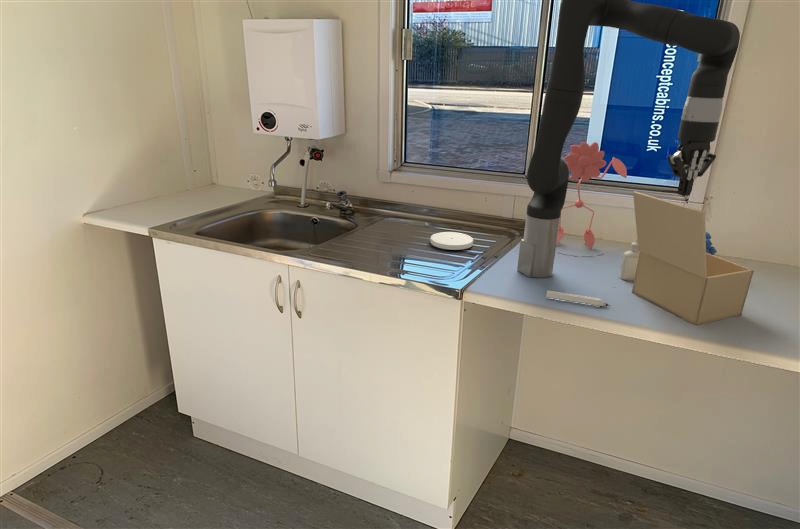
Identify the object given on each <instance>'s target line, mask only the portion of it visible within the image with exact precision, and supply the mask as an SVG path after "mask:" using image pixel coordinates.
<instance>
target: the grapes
mask: <svg viewBox="0 0 800 529" xmlns="http://www.w3.org/2000/svg"><path fill="white" fill-rule="evenodd" d="M710 239H712V236H711V234H710V233H709V232H708V231H706V253H709V254H711V255H714V256H715V255H716V253H717V249H716V248H715V246H713V243H712V241H711V240H710Z"/></svg>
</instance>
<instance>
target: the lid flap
mask: <svg viewBox="0 0 800 529" xmlns="http://www.w3.org/2000/svg"><path fill="white" fill-rule="evenodd" d="M632 195H633V204H634V205H633V207H634V217H635V218H634V219H635V228H636V237H637V238H636V239H637V240H638V250H639V251H641V252H643V253H645V254H648V255H650V256H653V257H655V258H657V259H660V260H662V261H664V262H667V263H669V264H672V265H674V266H676V267H679V268H681V269H684V270H686V271H688V272H691V273H693V274H695V275H698V276H700V277H703V278H706V277H707V266H706V232H707V231H706V211H703V210H699V209H696V208H693V207H690V206H686V205H684V204H679V203H676V202H673V201H670V200H666V199H663V198H661V197H660V198H659V197H657V196H653V195H649V194H646V193H642V192H639V191H635V190H634V191H633V192H632Z"/></svg>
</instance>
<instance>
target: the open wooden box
mask: <svg viewBox="0 0 800 529" xmlns="http://www.w3.org/2000/svg"><path fill="white" fill-rule="evenodd" d="M706 266H707V277H706V278H703V277H700V276H698V275H695V274H693V273H691V272H688V271H686V270H684V269H681V268H679V267H676V266H674V265H672V264H669V263H667V262H664V261H662V260H660V259H657V258H655V257H653V256H650V255H648V254H645V253H643V252H641V251H640V254H639V259H638V264H637V269H636V274H635V279H634V281H633V285H632V291H631V293H632V294H634V295H635V296H637V297H640V298H642V299H644V300H646V301H648V302H649V303H650V304H653V305H655V306H656V307H657V306H658V307H659V308H661V309H663V310H665V311H667V310H668V311H667V312H669V313H671V314H672V313H673V314H672V315H674V314H676V315H677V316H676V315H675V316H676V317H678V316H680V317H681V319H682V318H683V319H682V320H684V319H685V320H684V321H686V320H687V321H686V322H688V321H689V322H688V323H690V322H691V323H690V324H692V323H693V324H692V325H694V324H695V325H696V324H697V325H701V323H702V324H707V323H710V322H716V321H719V320H720V321H721V320H724V319H729V318H734V317H738V316H742V314H743V311H744V306H745V303H746V300H747V296H748V293H749V292H748V291H749V289H750V286H751V285H750V284H751V282H752V278H753V276H754V272H755V270H754V269H752V268H749V267H746V266H743V265H741V264H738V263H735V262H733V261H729V260H727V259H725V258H722V257H719V256H716V255H715V254H714V255H711V254H709V253H706ZM680 317H679V318H680ZM695 325H694V326H695Z"/></svg>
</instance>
